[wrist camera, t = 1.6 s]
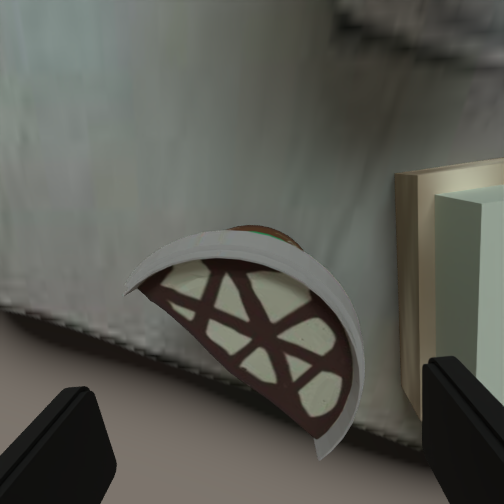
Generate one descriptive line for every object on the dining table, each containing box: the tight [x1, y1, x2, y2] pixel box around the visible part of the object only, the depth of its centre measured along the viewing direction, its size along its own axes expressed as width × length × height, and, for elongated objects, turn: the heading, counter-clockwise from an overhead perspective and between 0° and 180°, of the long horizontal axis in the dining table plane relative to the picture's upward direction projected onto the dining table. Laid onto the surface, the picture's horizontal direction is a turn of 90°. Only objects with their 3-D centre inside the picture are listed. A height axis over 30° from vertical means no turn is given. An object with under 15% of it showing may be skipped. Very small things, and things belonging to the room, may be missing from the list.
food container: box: [122, 225, 365, 461], centre depth 17 cm, size 12×6×10 cm, turn 47°
